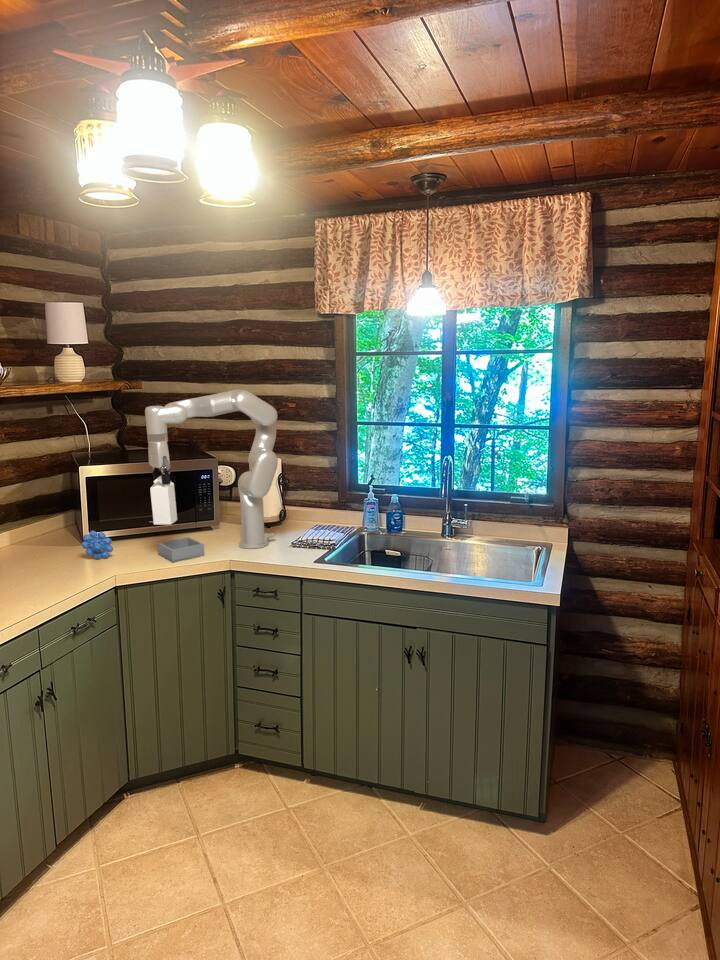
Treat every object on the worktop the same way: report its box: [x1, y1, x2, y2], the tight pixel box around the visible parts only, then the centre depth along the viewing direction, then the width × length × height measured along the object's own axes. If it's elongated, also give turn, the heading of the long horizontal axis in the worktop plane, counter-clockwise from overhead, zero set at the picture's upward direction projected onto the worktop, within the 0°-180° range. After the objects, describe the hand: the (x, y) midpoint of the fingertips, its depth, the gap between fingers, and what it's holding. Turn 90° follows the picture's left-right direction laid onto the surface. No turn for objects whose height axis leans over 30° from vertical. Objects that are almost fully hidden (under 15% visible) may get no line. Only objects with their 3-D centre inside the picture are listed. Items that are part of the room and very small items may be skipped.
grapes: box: [81, 530, 114, 560], centre depth 274 cm, size 12×7×12 cm, turn 108°
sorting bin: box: [157, 536, 205, 563], centre depth 280 cm, size 14×14×5 cm
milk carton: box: [149, 476, 178, 526], centre depth 272 cm, size 7×7×19 cm
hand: (161, 482), depth 271 cm, fingers closed on milk carton, 7 cm apart
